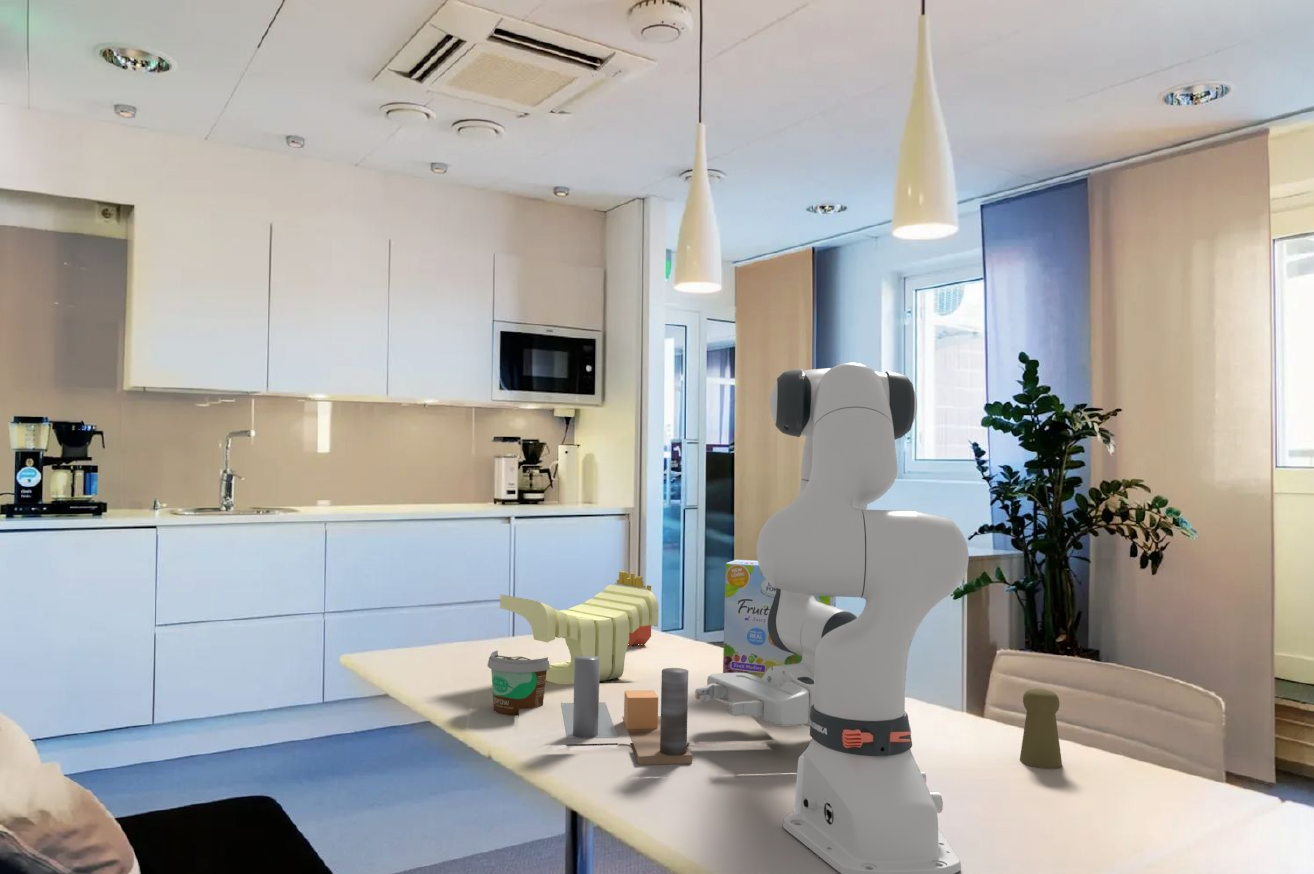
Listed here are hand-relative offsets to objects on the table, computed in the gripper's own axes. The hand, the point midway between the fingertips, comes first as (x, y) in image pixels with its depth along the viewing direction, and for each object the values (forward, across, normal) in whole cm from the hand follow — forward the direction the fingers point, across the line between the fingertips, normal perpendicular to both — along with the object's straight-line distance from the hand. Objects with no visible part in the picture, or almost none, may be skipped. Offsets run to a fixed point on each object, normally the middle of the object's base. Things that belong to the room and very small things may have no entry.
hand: (713, 701), depth 139 cm
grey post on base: (+11, -22, +8) cm, 26 cm away
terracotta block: (+5, -15, +7) cm, 17 cm away
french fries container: (-31, -87, +9) cm, 93 cm away
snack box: (-34, -29, +8) cm, 46 cm away
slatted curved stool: (-3, -56, +8) cm, 57 cm away
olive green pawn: (-44, +24, +8) cm, 51 cm away
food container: (+20, -36, +8) cm, 42 cm away
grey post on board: (+5, -9, +8) cm, 13 cm away
